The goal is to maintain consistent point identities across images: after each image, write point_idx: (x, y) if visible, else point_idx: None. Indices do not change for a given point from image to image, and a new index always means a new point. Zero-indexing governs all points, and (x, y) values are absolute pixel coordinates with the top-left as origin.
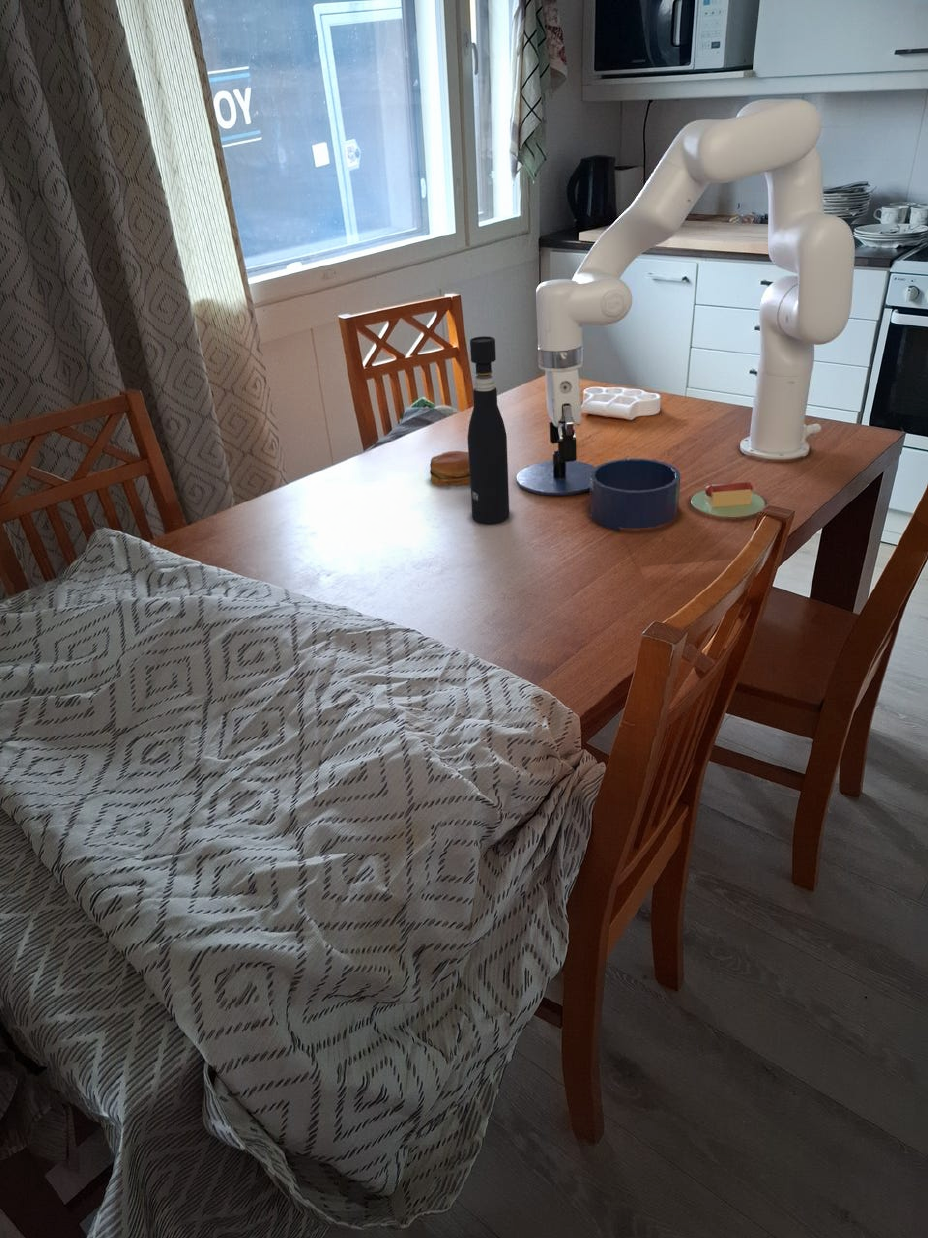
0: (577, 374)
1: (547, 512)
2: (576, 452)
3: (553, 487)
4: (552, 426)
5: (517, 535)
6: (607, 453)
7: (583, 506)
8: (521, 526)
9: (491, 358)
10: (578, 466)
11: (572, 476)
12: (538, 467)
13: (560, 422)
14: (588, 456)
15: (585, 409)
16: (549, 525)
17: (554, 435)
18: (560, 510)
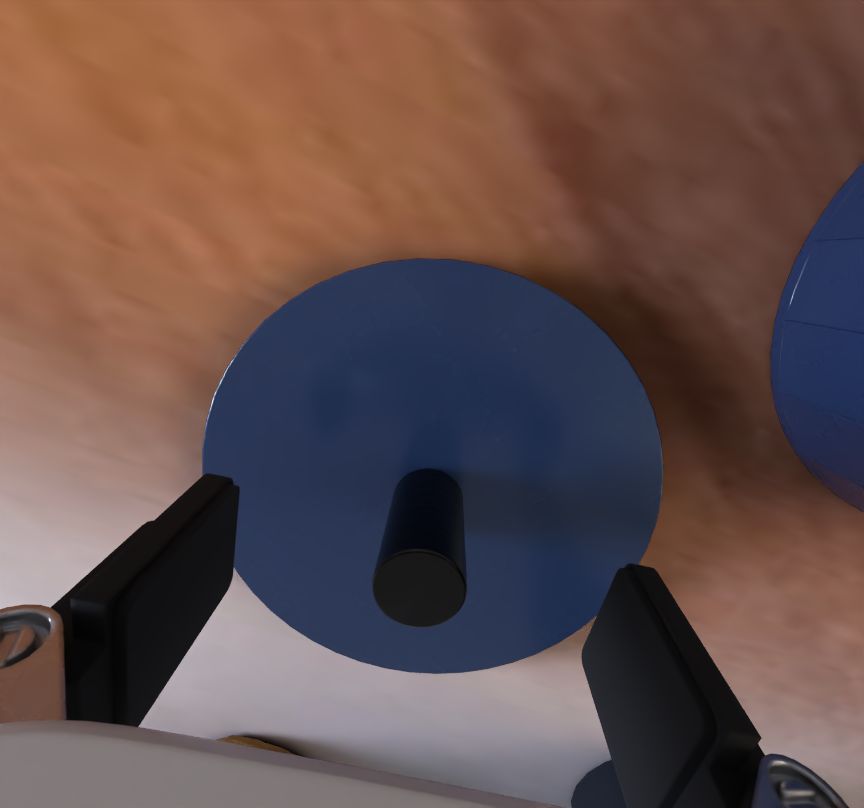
0: None
1: (723, 641)
2: (680, 611)
3: (556, 574)
4: (148, 698)
5: (836, 780)
6: (95, 35)
7: (765, 497)
8: (777, 750)
9: None
10: (338, 356)
11: (467, 444)
12: (277, 546)
13: (113, 659)
14: (122, 191)
15: None
16: (840, 675)
17: (202, 609)
18: (739, 594)
